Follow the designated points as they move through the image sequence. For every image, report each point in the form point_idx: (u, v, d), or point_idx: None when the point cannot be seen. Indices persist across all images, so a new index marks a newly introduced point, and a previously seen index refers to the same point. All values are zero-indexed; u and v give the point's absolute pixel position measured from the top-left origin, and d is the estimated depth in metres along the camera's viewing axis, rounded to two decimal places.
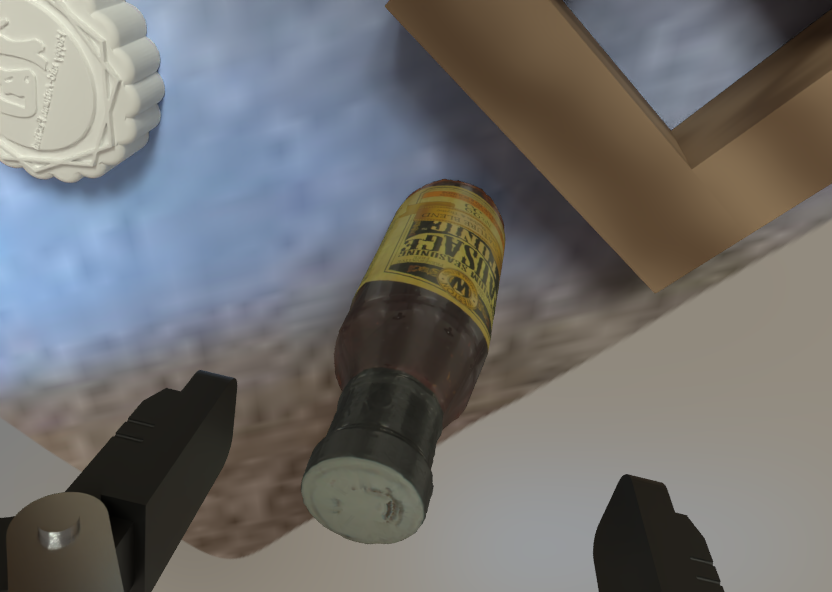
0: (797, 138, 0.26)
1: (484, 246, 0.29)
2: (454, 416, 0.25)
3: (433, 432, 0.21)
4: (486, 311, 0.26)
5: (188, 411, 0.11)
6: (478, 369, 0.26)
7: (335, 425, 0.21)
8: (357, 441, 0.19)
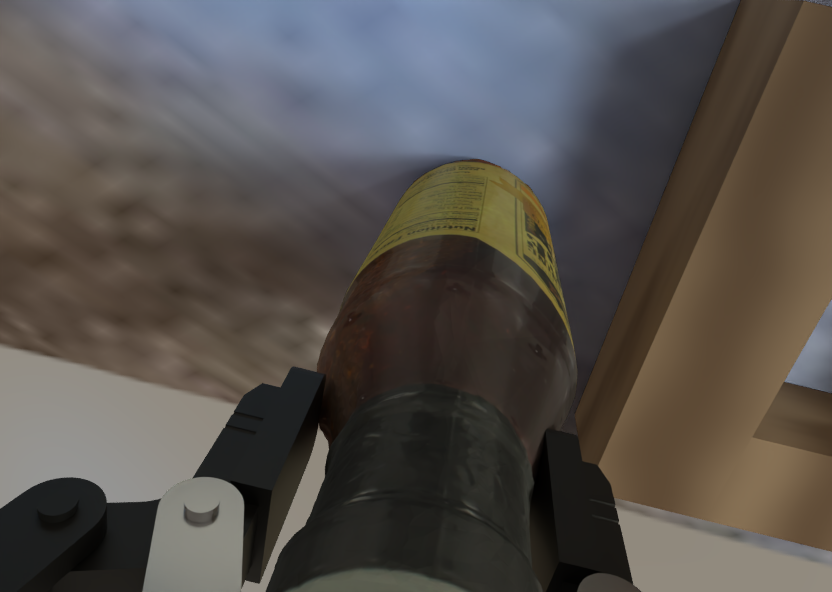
0: (831, 493, 0.24)
1: None
2: None
3: None
4: None
5: (291, 404, 0.12)
6: None
7: (437, 481, 0.09)
8: (521, 587, 0.08)
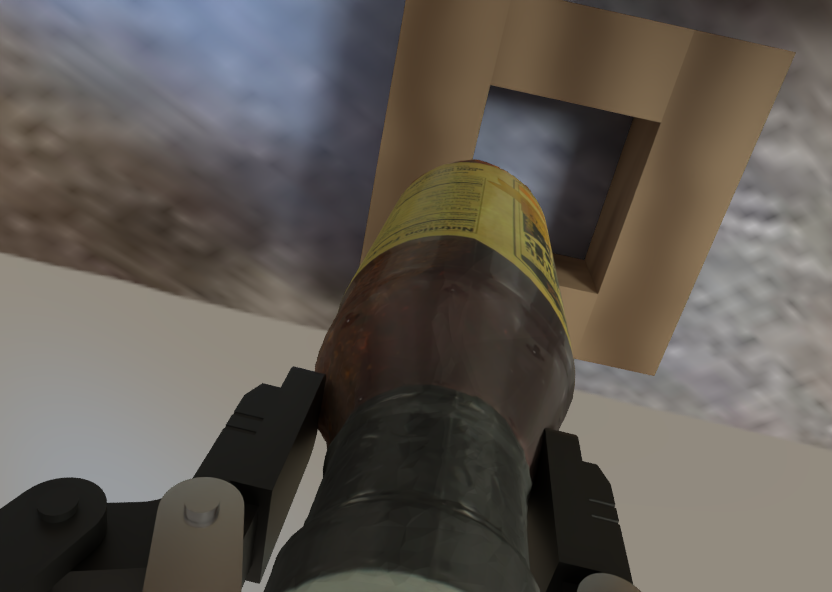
0: None
1: None
2: None
3: None
4: None
5: (291, 404, 0.12)
6: None
7: (435, 482, 0.09)
8: (518, 589, 0.08)
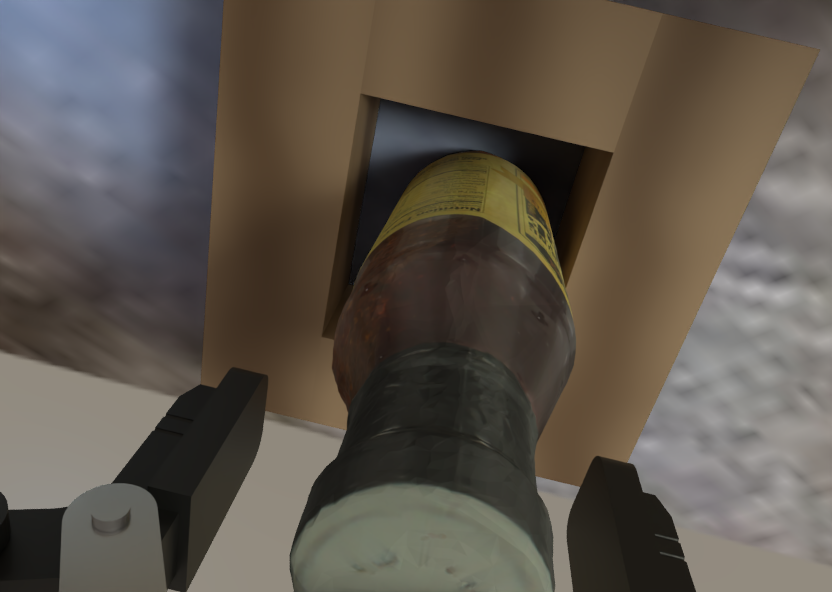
0: None
1: None
2: None
3: None
4: None
5: (225, 406, 0.11)
6: None
7: (454, 419, 0.10)
8: (530, 506, 0.09)
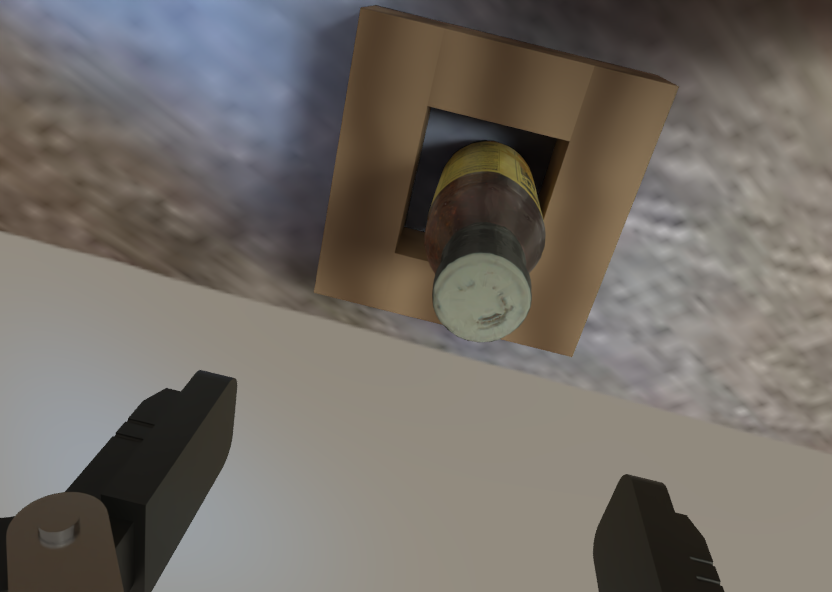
0: None
1: None
2: None
3: None
4: None
5: (188, 411, 0.11)
6: None
7: (493, 242, 0.26)
8: (522, 266, 0.25)
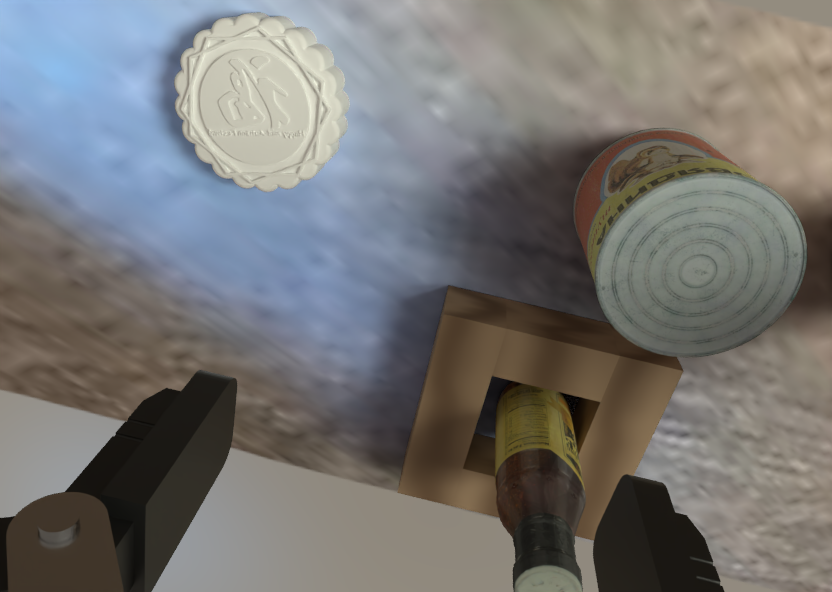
0: None
1: None
2: None
3: None
4: None
5: (188, 411, 0.11)
6: None
7: (554, 544, 0.38)
8: (576, 569, 0.37)
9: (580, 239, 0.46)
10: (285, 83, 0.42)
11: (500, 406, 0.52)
